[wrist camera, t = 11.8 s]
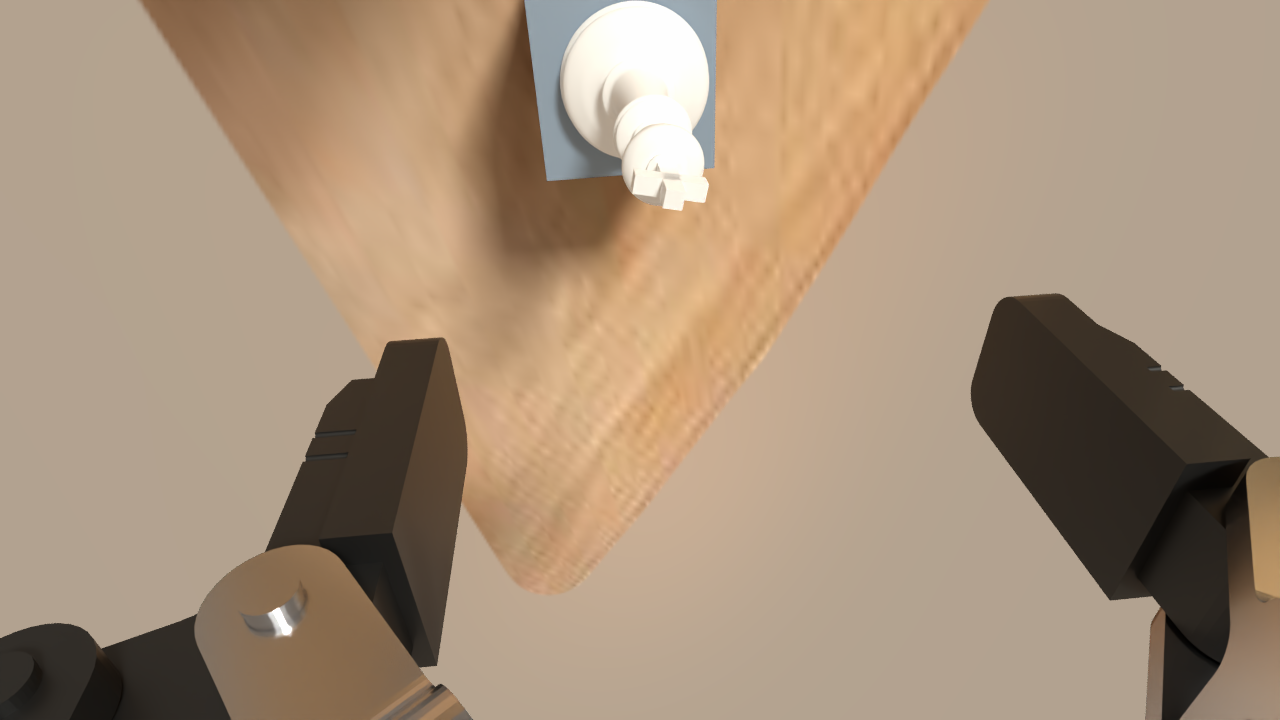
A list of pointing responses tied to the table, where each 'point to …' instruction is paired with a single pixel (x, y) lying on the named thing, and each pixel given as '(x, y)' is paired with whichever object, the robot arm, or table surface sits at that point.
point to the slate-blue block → (552, 20)
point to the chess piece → (641, 97)
